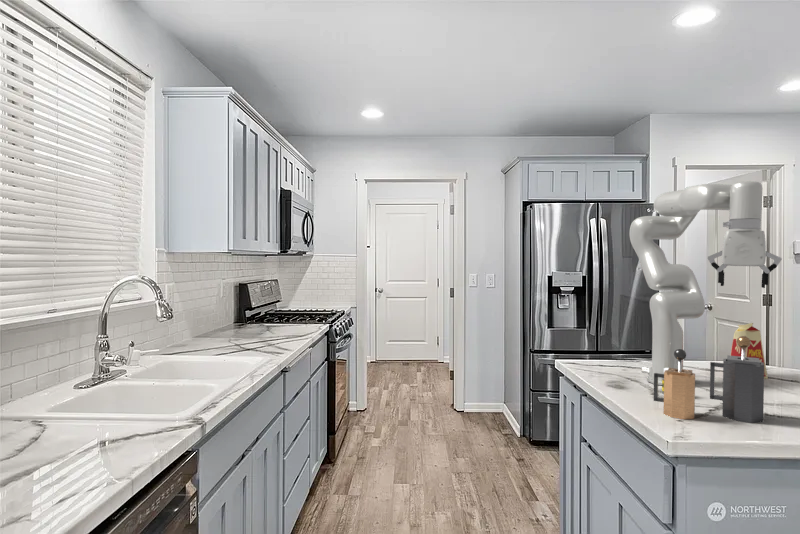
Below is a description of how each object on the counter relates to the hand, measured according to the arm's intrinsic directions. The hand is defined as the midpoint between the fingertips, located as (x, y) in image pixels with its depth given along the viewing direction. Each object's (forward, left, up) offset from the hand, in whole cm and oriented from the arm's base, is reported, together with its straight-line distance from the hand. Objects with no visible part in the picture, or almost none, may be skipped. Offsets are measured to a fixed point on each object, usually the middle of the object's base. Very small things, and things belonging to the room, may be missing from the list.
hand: (742, 286), depth 144 cm
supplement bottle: (-19, -1, -35) cm, 40 cm away
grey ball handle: (-8, -20, -35) cm, 41 cm away
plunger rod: (+3, -8, -34) cm, 35 cm away
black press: (+2, -9, -35) cm, 36 cm away
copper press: (-9, -21, -35) cm, 42 cm away
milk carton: (-16, +52, -35) cm, 65 cm away
